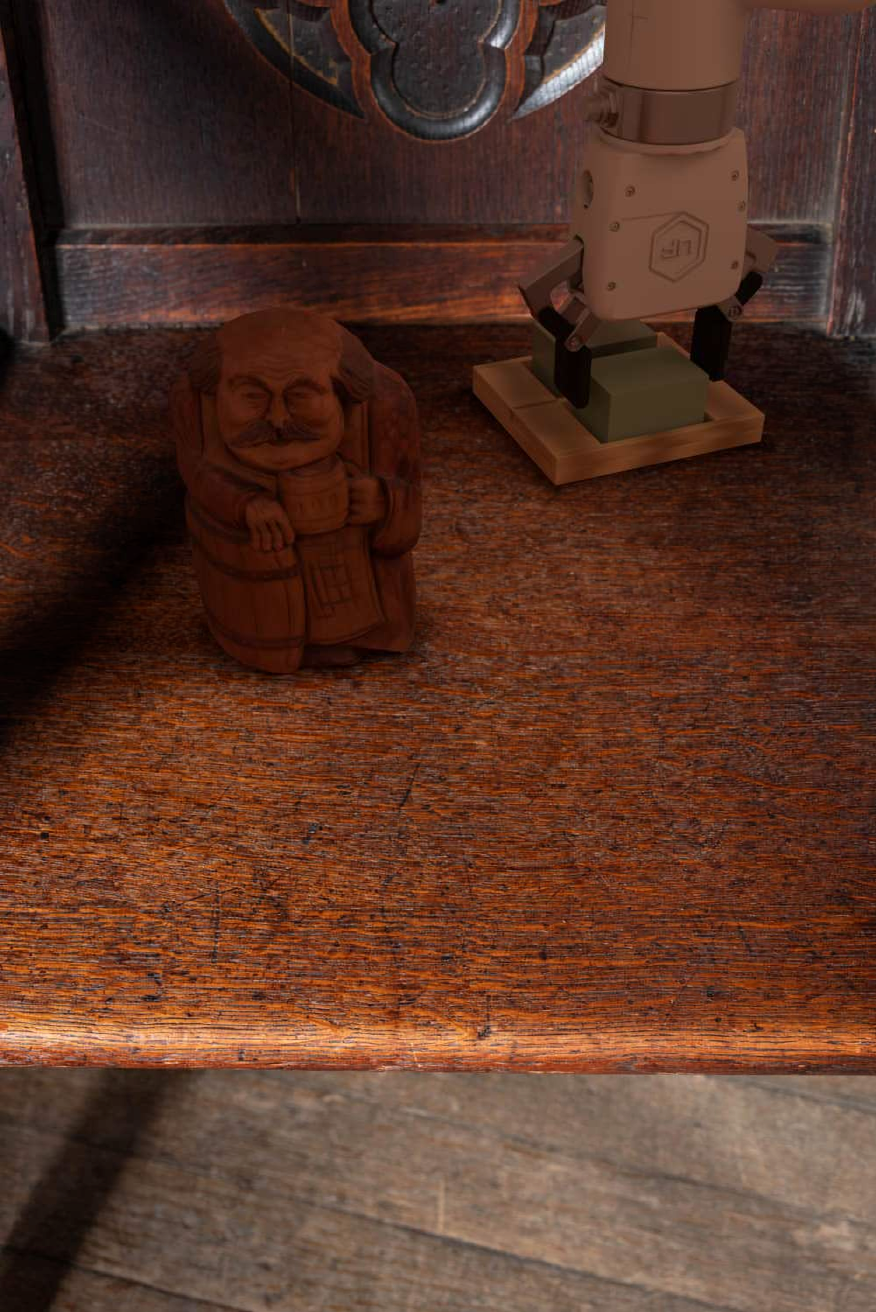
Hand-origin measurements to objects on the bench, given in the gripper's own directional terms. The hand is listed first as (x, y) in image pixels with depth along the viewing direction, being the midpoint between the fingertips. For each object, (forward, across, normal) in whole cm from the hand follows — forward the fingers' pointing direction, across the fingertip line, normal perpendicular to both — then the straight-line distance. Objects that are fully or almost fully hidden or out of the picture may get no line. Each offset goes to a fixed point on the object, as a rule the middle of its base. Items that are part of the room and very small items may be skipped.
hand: (640, 386), depth 81 cm
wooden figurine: (+4, -26, -13) cm, 29 cm away
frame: (+4, 0, +3) cm, 5 cm away
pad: (+3, 0, 0) cm, 3 cm away
